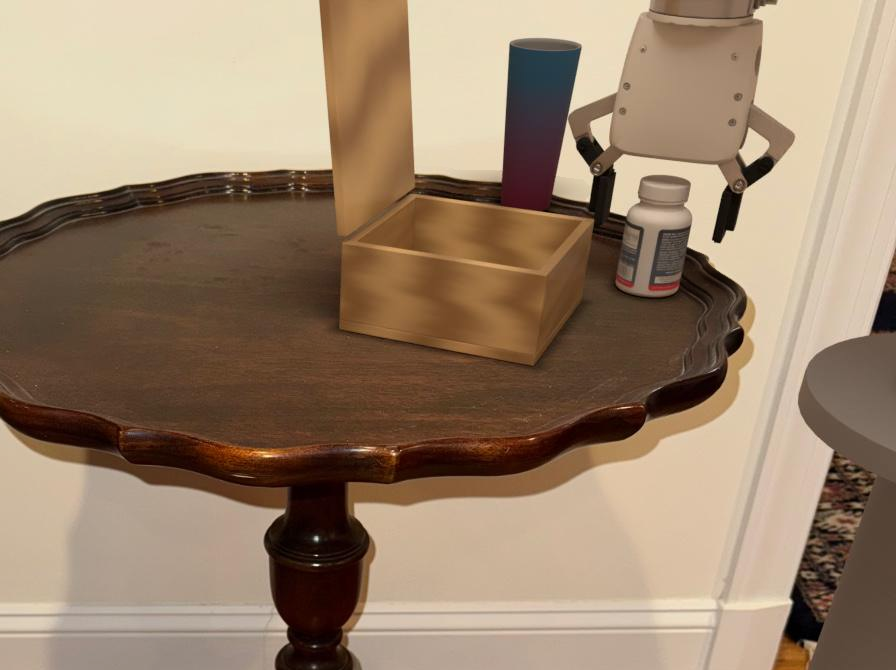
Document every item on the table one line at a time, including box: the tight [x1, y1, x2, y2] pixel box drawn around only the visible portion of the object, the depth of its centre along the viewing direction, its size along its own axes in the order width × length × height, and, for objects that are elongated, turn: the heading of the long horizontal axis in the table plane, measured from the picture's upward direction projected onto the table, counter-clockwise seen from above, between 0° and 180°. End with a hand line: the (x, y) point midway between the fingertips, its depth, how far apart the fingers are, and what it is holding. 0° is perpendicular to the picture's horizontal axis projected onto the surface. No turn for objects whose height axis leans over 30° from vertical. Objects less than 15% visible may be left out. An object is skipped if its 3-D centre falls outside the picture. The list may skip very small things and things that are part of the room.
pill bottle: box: [615, 174, 693, 298], centre depth 94 cm, size 5×5×9 cm
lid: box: [318, 0, 416, 237], centre depth 85 cm, size 16×15×1 cm
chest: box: [338, 193, 595, 367], centre depth 89 cm, size 16×15×7 cm
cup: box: [500, 37, 583, 212], centre depth 111 cm, size 7×7×15 cm
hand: (658, 230), depth 93 cm, fingers open, 9 cm apart
